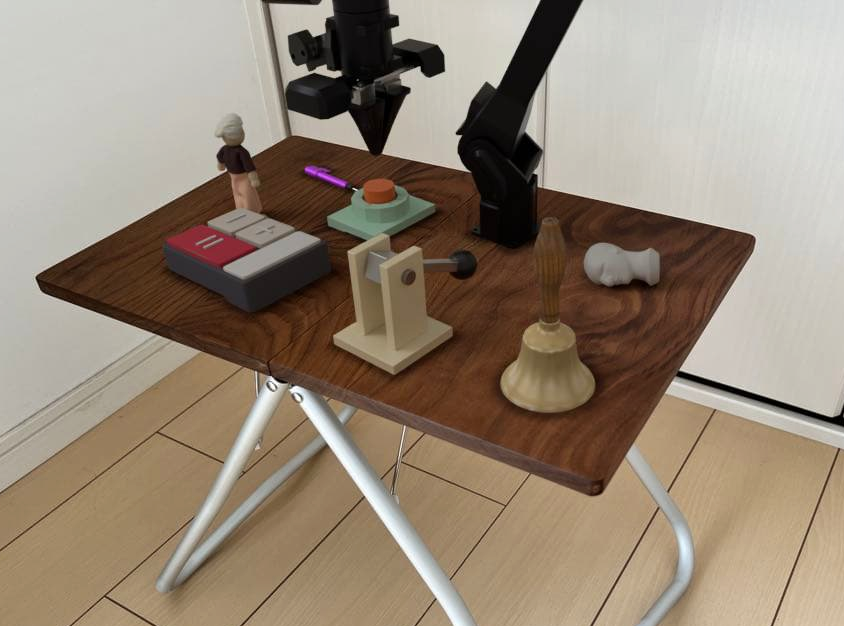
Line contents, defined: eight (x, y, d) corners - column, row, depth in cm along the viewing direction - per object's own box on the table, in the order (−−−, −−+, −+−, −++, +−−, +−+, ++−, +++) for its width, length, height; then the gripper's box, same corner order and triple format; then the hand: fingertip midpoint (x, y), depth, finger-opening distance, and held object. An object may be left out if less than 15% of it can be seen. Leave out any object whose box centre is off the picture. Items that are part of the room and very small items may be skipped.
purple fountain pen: (302, 174, 114) (387, 209, 106) (303, 165, 114) (387, 200, 105) (318, 172, 116) (402, 206, 108) (319, 163, 116) (403, 197, 107)
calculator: (241, 202, 99) (327, 234, 91) (249, 237, 102) (333, 271, 93) (157, 238, 93) (241, 276, 85) (168, 274, 96) (251, 314, 87)
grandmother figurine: (284, 219, 104) (265, 114, 96) (262, 232, 101) (241, 125, 94) (237, 206, 107) (215, 103, 99) (214, 218, 105) (190, 114, 97)
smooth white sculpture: (576, 292, 91) (594, 258, 93) (651, 308, 88) (667, 272, 90) (572, 263, 87) (591, 228, 90) (650, 278, 84) (667, 242, 86)
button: (380, 189, 103) (378, 175, 102) (402, 197, 101) (400, 183, 100) (358, 200, 101) (356, 186, 100) (380, 208, 99) (378, 194, 98)
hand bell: (569, 426, 72) (578, 255, 62) (483, 396, 76) (478, 229, 66) (610, 374, 78) (625, 209, 68) (528, 348, 81) (531, 187, 71)
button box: (387, 196, 108) (385, 173, 106) (435, 213, 104) (434, 189, 102) (328, 225, 102) (324, 202, 100) (376, 245, 98) (373, 221, 96)
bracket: (393, 309, 87) (384, 220, 81) (453, 337, 83) (448, 245, 77) (334, 345, 83) (320, 253, 77) (394, 377, 78) (384, 282, 72)
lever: (456, 274, 89) (463, 245, 88) (479, 283, 87) (486, 254, 86) (360, 279, 78) (366, 246, 77) (384, 289, 77) (390, 256, 75)
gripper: (370, -23, 98) (383, 114, 108) (237, 16, 87) (265, 164, 97) (444, -10, 92) (451, 134, 102) (312, 33, 81) (333, 190, 91)
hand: (376, 154), depth 98 cm, fingers closed
